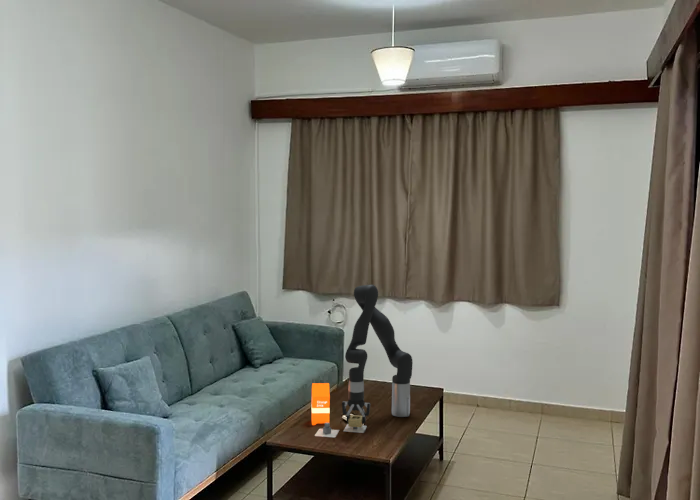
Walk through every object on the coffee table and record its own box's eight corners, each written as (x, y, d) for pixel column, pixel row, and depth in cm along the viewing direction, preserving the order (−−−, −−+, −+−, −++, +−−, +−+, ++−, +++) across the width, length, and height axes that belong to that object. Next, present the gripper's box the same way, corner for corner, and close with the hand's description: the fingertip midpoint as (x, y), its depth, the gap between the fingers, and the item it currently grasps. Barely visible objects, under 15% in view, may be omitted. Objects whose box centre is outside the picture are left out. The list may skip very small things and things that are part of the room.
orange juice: (311, 419, 335) (311, 381, 334) (328, 419, 336) (329, 380, 335) (311, 425, 328) (312, 385, 326) (329, 424, 328) (330, 385, 327)
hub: (339, 431, 319) (339, 420, 318) (335, 439, 309) (335, 427, 309) (319, 430, 321) (319, 419, 320) (314, 437, 311) (314, 426, 310)
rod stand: (367, 427, 326) (367, 416, 325) (363, 434, 316) (363, 423, 315) (347, 425, 327) (347, 415, 327) (343, 432, 318) (343, 422, 317)
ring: (363, 422, 324) (363, 415, 324) (361, 427, 318) (361, 420, 317) (350, 421, 325) (350, 414, 325) (348, 426, 319) (348, 419, 318)
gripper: (372, 388, 322) (371, 421, 324) (343, 386, 325) (342, 419, 326) (369, 392, 315) (369, 426, 316) (340, 391, 317) (340, 424, 319)
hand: (356, 423), depth 321 cm, fingers closed on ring, 6 cm apart
